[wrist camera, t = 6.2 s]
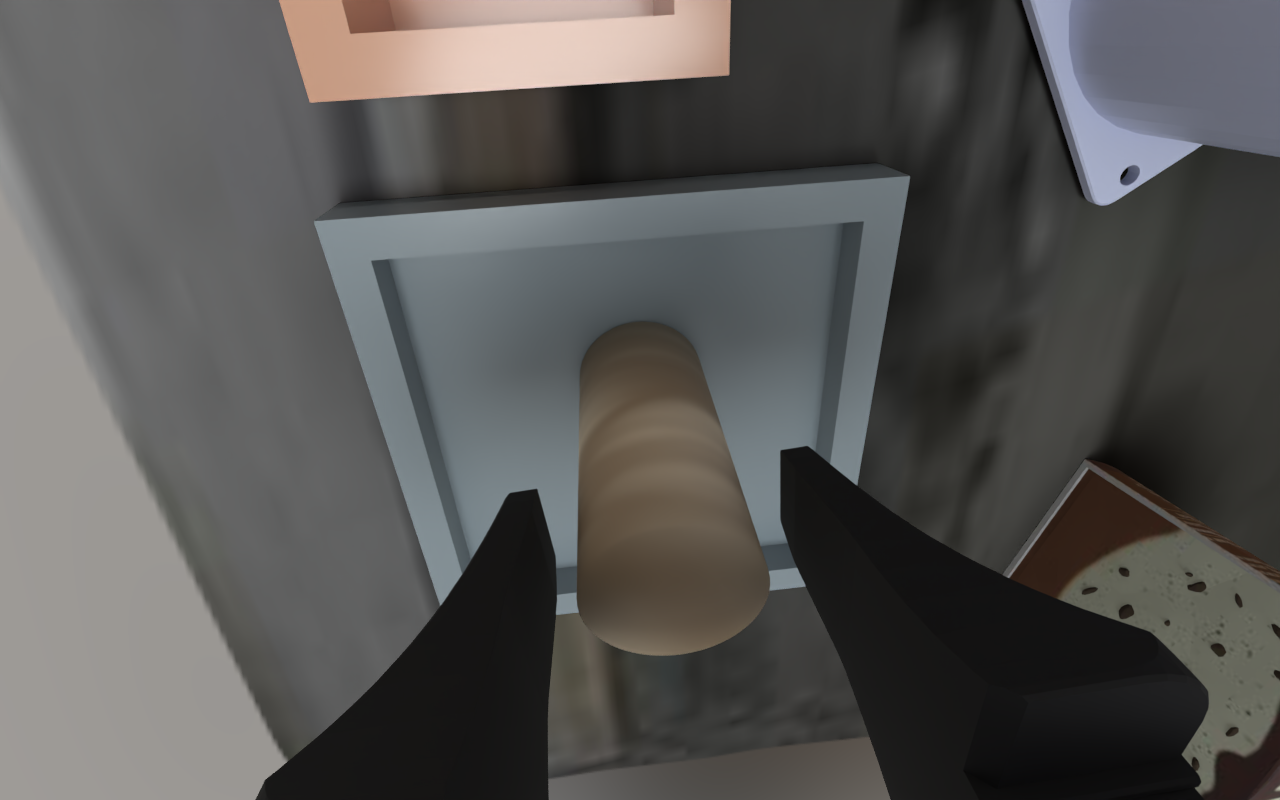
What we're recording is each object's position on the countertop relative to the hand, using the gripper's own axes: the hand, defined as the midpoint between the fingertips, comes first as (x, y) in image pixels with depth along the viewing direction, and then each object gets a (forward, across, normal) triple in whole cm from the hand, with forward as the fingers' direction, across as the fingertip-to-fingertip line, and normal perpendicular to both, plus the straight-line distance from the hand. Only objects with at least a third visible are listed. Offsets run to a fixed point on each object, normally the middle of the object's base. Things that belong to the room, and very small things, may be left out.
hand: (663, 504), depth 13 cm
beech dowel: (+6, 0, 0) cm, 6 cm away
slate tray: (+6, 0, +1) cm, 6 cm away
